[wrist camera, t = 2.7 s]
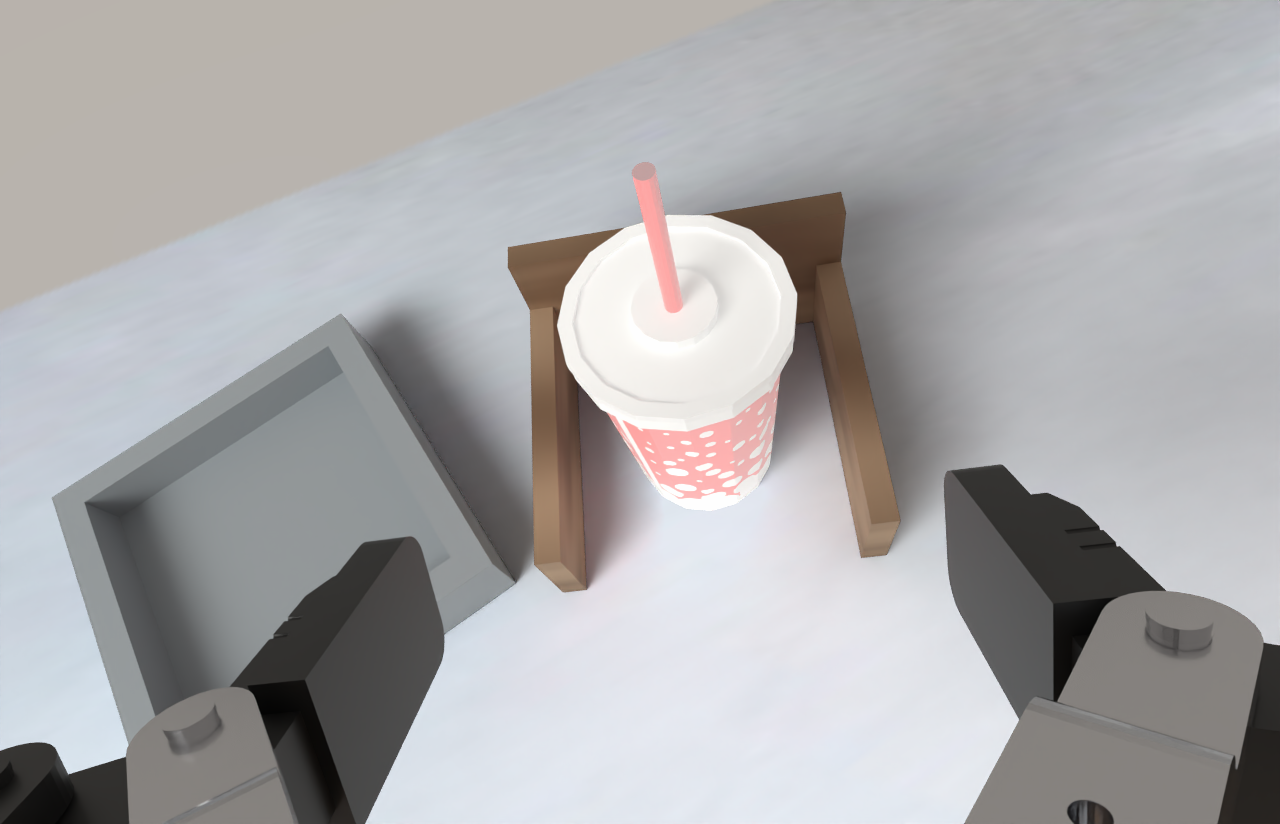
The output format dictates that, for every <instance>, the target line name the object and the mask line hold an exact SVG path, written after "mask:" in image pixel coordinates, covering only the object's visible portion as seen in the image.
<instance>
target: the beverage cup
mask: <svg viewBox="0 0 1280 824" xmlns="http://www.w3.org/2000/svg"><path fill="white" fill-rule="evenodd" d="M632 175H633V179H634V184H635V188H636V192H637V196H638V200H639V204H640V208H641V212H642V216H643V220H644V222H642V223H639V224H636V225H633V226H630V227H626V228H624V229H623V230H621V231H620V232H618V233H617V234H615V235H614V236H613V237H611V238H610V239H608V240H607V241H606V242H604V243H603V244H601V245H600V246H598V247H597V248H596V249H594V250H593V251H591V252H590V253H589V254H588V255H587V257H586V258H585V260H584V261H583V263H582V264H581V265H580V267H579V268H578V270H577V271H576V273H575V274H574V275H573V277H572V278H571V280H570V281H569V283H568V284H567V285H566V287H565V291H564V296H563V301H562V305H561V310H560V314H559V319H558V324H557V328H558V332H559V336H560V340H561V344H562V348H563V353H564V357H565V361H566V365H567V367H568V369H569V370H570V371H571V372H572V374H573V375H574V378H575V379H576V381H577V382H578V383H579V384H580V385H581V387H582V388H583V389H584V390H585V391H586V392H587V394H588V395H589V396H590V397H591V398H592V400H593V401H594V402H595V403H596V404H597V406H598V407H599V408H600V409H601V410H603V411H605V412H607V414H608V415H609V417H610V418H611V420H612V422H613V423H614V425H615V426H616V428H617V430H618V431H619V433H620V434H621V436H622V438H623V439H624V441H625V443H626V444H627V446H628V447H629V449H630V451H631V452H632V454H633V455H634V457H635V459H636V460H637V462H638V463H639V465H640V467H641V468H642V470H643V471H644V473H645V475H646V476H647V478H648V479H649V480H650V482H651V483H652V484H653V485H654V486H655V488H656V489H657V490H658V491H659V492H660V494H661V495H662V496H663V497H664V498H666V499H668V500H670V501H672V502H674V503H676V504H678V505H680V506H682V507H684V508H686V509H698V510H709V511H713V510H716V509H719V508H723V507H726V506H730V505H733V504H736V503H738V502H739V501H741V500H742V499H743V498H745V497H746V496H747V495H748V494H750V493H751V492H752V491H753V490H755V489H756V488H757V487H758V486H759V484H760V482H761V480H762V479H763V477H764V475H765V473H766V471H767V469H768V468H769V466H770V459H771V451H772V442H773V433H774V425H775V416H776V407H777V399H778V390H779V381H780V373H781V371H782V369H783V367H784V366H785V364H786V362H787V360H788V359H789V357H790V355H791V353H792V352H793V342H794V334H795V321H796V308H797V292H796V290H795V288H794V285H793V283H792V280H791V278H790V276H789V273H788V271H787V268H786V266H785V264H784V261H783V259H782V257H781V256H780V255H779V254H778V253H777V252H776V251H774V250H773V249H772V248H771V247H770V246H769V245H768V244H767V243H765V242H764V241H763V240H762V239H761V238H760V237H759V236H758V235H757V234H755V233H754V232H753V231H752V230H750V229H748V228H745V227H742V226H739V225H736V224H734V223H731V222H728V221H725V220H723V219H720V218H717V217H714V216H711V215H665V213H664V208H663V203H662V198H661V193H660V189H659V184H658V179H657V174H656V169H655V166H654V165H653V164H651V163H648V162H643V163H639V164H638V165H636V166H635V167H634V168H633V170H632Z"/></svg>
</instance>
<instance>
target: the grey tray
mask: <svg viewBox="0 0 1280 824" xmlns="http://www.w3.org/2000/svg"><path fill="white" fill-rule="evenodd" d="M52 500H53V503H54V506H55V509H56V513H57V516H58V519H59V522H60V525H61V529H62V532H63V535H64V538H65V541H66V545H67V548H68V551H69V554H70V558H71V561H72V564H73V567H74V570H75V574H76V577H77V580H78V583H79V586H80V590H81V593H82V596H83V599H84V603H85V606H86V609H87V612H88V615H89V619H90V622H91V625H92V628H93V631H94V635H95V638H96V641H97V644H98V648H99V651H100V654H101V657H102V660H103V664H104V667H105V670H106V673H107V676H108V680H109V683H110V686H111V689H112V693H113V696H114V699H115V702H116V705H117V709H118V712H119V715H120V718H121V721H122V725H123V728H124V731H125V734H126V738H127V741H128V744H130V742H131V740H132V739H133V737H134V736H135V735H136V734H137V733H138V731H139V730H140V729H141V728H142V727H143V726H145V725H146V724H147V723H148V722H149V721H150V720H152V719H153V718H154V717H155V716H157V715H158V714H160V713H161V712H163V711H164V710H166V709H167V708H169V707H171V706H173V705H174V704H176V703H178V702H180V701H182V700H185V699H187V698H189V697H191V696H194V695H196V694H199V693H202V692H206V691H209V690H213V689H218V688H225V687H230V685H231V684H232V683H233V682H234V681H235V679H236V678H237V677H238V676H239V675H240V673H241V672H242V671H243V670H244V669H245V667H246V666H247V665H248V664H249V663H250V662H251V660H252V659H253V658H254V657H255V656H256V654H257V653H258V652H259V651H260V650H261V648H262V647H263V646H264V645H265V644H266V642H267V641H268V640H269V639H273V634H274V633H275V632H276V630H277V629H278V628H279V627H280V626H281V624H282V623H283V622H284V621H288V616H289V615H290V614H291V613H292V611H293V610H294V609H295V608H296V607H297V605H298V604H299V603H300V602H301V601H302V599H303V598H304V597H305V596H306V595H308V594H309V593H310V592H312V591H313V590H315V589H316V588H317V587H319V586H320V585H322V584H323V583H324V582H326V581H327V580H329V579H330V578H332V577H333V576H336V575H337V574H338V572H339V571H340V570H341V569H342V567H343V566H344V565H345V564H346V562H347V561H348V560H349V559H350V558H351V556H352V555H353V554H354V553H355V551H356V550H357V549H358V548H359V546H360V545H361V544H362V543H364V542H368V541H376V540H384V539H392V538H400V537H408V536H412V537H414V538H415V539H416V540H417V541H418V543H419V544H420V546H421V549H422V552H423V555H424V559H425V562H426V566H427V569H428V573H429V576H430V580H431V583H432V587H433V591H434V594H435V598H436V601H437V605H438V608H439V612H440V615H441V619H442V623H443V629H444V634H445V633H447V632H448V631H449V630H451V629H452V628H454V627H455V626H456V625H458V624H459V623H461V622H462V621H463V620H465V619H466V618H468V617H469V616H470V615H472V614H473V613H475V612H476V611H478V610H479V609H480V608H482V607H483V606H485V605H486V604H487V603H489V602H490V601H492V600H493V599H494V598H496V597H497V596H499V595H500V594H501V593H503V592H504V591H506V590H507V589H509V588H510V587H511V586H513V585H514V584H516V582H515V581H514V579H513V578H512V576H511V574H510V573H509V571H508V569H507V568H506V566H505V564H504V563H503V561H502V560H501V558H500V556H499V555H498V553H497V551H496V550H495V548H494V547H493V545H492V543H491V542H490V540H489V538H488V537H487V535H486V533H485V532H484V530H483V529H482V527H481V525H480V524H479V522H478V520H477V519H476V517H475V516H474V514H473V512H472V511H471V509H470V507H469V506H468V504H467V502H466V501H465V499H464V498H463V496H462V494H461V493H460V491H459V489H458V488H457V486H456V485H455V483H454V481H453V480H452V478H451V476H450V475H449V473H448V471H447V470H446V468H445V467H444V465H443V463H442V462H441V460H440V458H439V457H438V455H437V454H436V452H435V450H434V449H433V447H432V445H431V444H430V442H429V440H428V439H427V437H426V436H425V434H424V432H423V431H422V429H421V427H420V426H419V424H418V422H417V421H416V419H415V418H414V416H413V414H412V413H411V411H410V409H409V408H408V406H407V405H406V403H405V401H404V400H403V398H402V396H401V395H400V393H399V391H398V390H397V388H396V387H395V385H394V383H393V382H392V380H391V378H390V377H389V375H388V374H387V372H386V370H385V369H384V367H383V365H382V364H381V362H380V360H379V359H378V357H377V356H376V354H375V352H374V351H373V349H372V347H371V346H370V345H369V344H368V343H367V342H366V341H365V340H364V338H363V337H362V336H361V335H360V334H359V333H358V332H357V331H356V330H355V329H354V327H353V326H352V325H351V324H350V323H349V322H348V321H347V320H346V319H345V317H344V316H343V315H342V314H339V315H338V316H336V317H335V318H333V319H331V320H330V321H328V322H327V323H325V324H324V325H322V326H320V327H319V328H317V329H316V330H314V331H313V332H311V333H309V334H308V335H306V336H305V337H303V338H302V339H300V340H298V341H297V342H295V343H294V344H292V345H291V346H289V347H287V348H286V349H284V350H283V351H281V352H280V353H278V354H276V355H275V356H273V357H272V358H270V359H269V360H267V361H266V362H264V363H262V364H261V365H259V366H258V367H256V368H255V369H253V370H251V371H250V372H248V373H247V374H245V375H244V376H242V377H240V378H239V379H237V380H236V381H234V382H233V383H231V384H229V385H228V386H226V387H225V388H223V389H222V390H220V391H218V392H217V393H215V394H214V395H212V396H211V397H209V398H207V399H206V400H204V401H203V402H201V403H200V404H198V405H196V406H195V407H193V408H192V409H190V410H189V411H187V412H185V413H184V414H182V415H181V416H179V417H178V418H176V419H174V420H173V421H171V422H170V423H168V424H167V425H165V426H163V427H162V428H160V429H159V430H157V431H156V432H154V433H152V434H151V435H149V436H148V437H146V438H145V439H143V440H141V441H140V442H138V443H137V444H135V445H134V446H132V447H130V448H129V449H127V450H126V451H124V452H123V453H121V454H119V455H118V456H116V457H115V458H113V459H112V460H110V461H108V462H107V463H105V464H104V465H102V466H101V467H99V468H97V469H96V470H94V471H93V472H91V473H90V474H88V475H86V476H85V477H83V478H82V479H80V480H79V481H77V482H76V483H74V484H72V485H71V486H69V487H68V488H66V489H65V490H63V491H61V492H60V493H58V494H57V495H55V496H54V497H52Z"/></svg>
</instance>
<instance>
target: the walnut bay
mask: <svg viewBox="0 0 1280 824" xmlns="http://www.w3.org/2000/svg"><path fill="white" fill-rule="evenodd" d="M706 215H711V216H714V217H717V218H720V219H723V220H725V221H728V222H731V223H734V224H736V225H739V226H742V227H745V228H748V229H750V230H752V231H753V232H754V233H755V234H757V235H758V236H759V237H760V238H761V239H762V240H763V241H764V242H765V243H767V244H768V245H769V246H770V247H771V248H772V249H773V250H774V251H776V252H777V253H778V254H779V255H780V256H781V257H782V259H783V261H784V264H785V266H786V268H787V271H788V273H789V276H790V278H791V280H792V283H793V285H794V288H795V290H796V292H797V308H796V321H795V324H800V323H807V322H813V323H814V328H815V333H816V338H817V343H818V348H819V353H820V358H821V363H822V368H823V372H824V377H825V382H826V387H827V392H828V397H829V402H830V407H831V412H832V417H833V422H834V427H835V432H836V437H837V441H838V446H839V451H840V456H841V461H842V466H843V471H844V476H845V481H846V486H847V491H848V496H849V501H850V505H851V510H852V515H853V520H854V525H855V530H856V535H857V540H858V545H859V550H860V555H861V558H864V557H873V556H882V555H887V553H888V550H889V548H890V545H891V543H892V540H893V538H894V536H895V533H896V531H897V528H898V526H899V523H900V516H899V512H898V508H897V503H896V499H895V495H894V490H893V486H892V482H891V477H890V473H889V468H888V464H887V460H886V455H885V451H884V447H883V442H882V438H881V434H880V429H879V425H878V421H877V416H876V412H875V408H874V403H873V399H872V395H871V390H870V386H869V382H868V377H867V373H866V369H865V364H864V360H863V356H862V351H861V347H860V343H859V338H858V334H857V330H856V325H855V321H854V317H853V312H852V308H851V304H850V299H849V295H848V291H847V286H846V282H845V278H844V273H843V269H842V265H841V255H842V245H843V236H844V226H845V216H846V211H845V206H844V202H843V198H842V194H841V192H838V193H832V194H826V195H820V196H814V197H808V198H802V199H796V200H790V201H784V202H778V203H772V204H766V205H760V206H754V207H748V208H742V209H736V210H730V211H724V212H718V213H712V214H706ZM623 229H624V228H621V229H615V230H609V231H603V232H597V233H591V234H585V235H579V236H573V237H567V238H561V239H555V240H549V241H543V242H537V243H531V244H525V245H519V246H513V247H508V268H509V270H510V272H511V274H512V276H513V278H514V280H515V282H516V284H517V286H518V288H519V290H520V292H521V294H522V296H523V297H524V299H525V301H526V303H527V305H528V307H529V309H530V334H531V396H532V458H533V519H534V565H535V566H536V567H537V568H538V569H539V570H540V571H541V572H542V573H543V574H544V575H545V576H547V577H548V578H549V579H550V580H551V581H552V582H553V583H554V584H555V585H556V586H557V587H558V588H559V589H560V590H561V591H562V592H571V591H580V590H587V586H586V564H585V542H584V520H583V498H582V476H581V454H580V432H579V410H578V388H577V381H576V379H575V378H574V375H573V374H572V372H571V371H570V370H569V369H568V367H567V365H566V361H565V357H564V353H563V348H562V344H561V340H560V336H559V332H558V328H557V324H558V319H559V314H560V310H561V305H562V301H563V296H564V291H565V287H566V285H567V284H568V283H569V281H570V280H571V278H572V277H573V275H574V274H575V273H576V271H577V270H578V268H579V267H580V265H581V264H582V263H583V261H584V260H585V258H586V257H587V255H588V254H589V253H590V252H591V251H593V250H594V249H596V248H597V247H598V246H600V245H601V244H603V243H604V242H606V241H607V240H608V239H610V238H611V237H613V236H614V235H615V234H617V233H618V232H620V231H621V230H623Z"/></svg>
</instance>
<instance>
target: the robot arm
mask: <svg viewBox="0 0 1280 824" xmlns="http://www.w3.org/2000/svg"><path fill="white" fill-rule="evenodd" d="M944 498H945V519H946V539H947V559H948V573H949V580H950V585H951V589H952V593H953V597H954V600H955V603H956V606H957V608H958V610H959V612H960V614H961V616H962V618H963V619H964V621H965V623H966V625H967V627H968V628H969V630H970V632H971V634H972V636H973V637H974V639H975V641H976V643H977V645H978V646H979V648H980V650H981V652H982V654H983V655H984V657H985V659H986V661H987V662H988V664H989V666H990V668H991V670H992V671H993V673H994V675H995V677H996V679H997V680H998V682H999V684H1000V686H1001V688H1002V689H1003V691H1004V693H1005V695H1006V697H1007V698H1008V700H1009V702H1010V704H1011V705H1012V707H1013V709H1014V711H1015V713H1016V714H1017V716H1018V718H1019V722H1018V724H1017V726H1016V728H1015V729H1014V731H1013V733H1012V735H1011V737H1010V739H1009V741H1008V743H1007V744H1006V746H1005V748H1004V750H1003V752H1002V754H1001V756H1000V758H999V759H998V761H997V763H996V765H995V767H994V769H993V771H992V773H991V774H990V776H989V778H988V780H987V782H986V784H985V786H984V788H983V789H982V791H981V793H980V795H979V797H978V799H977V801H976V803H975V804H974V806H973V808H972V810H971V812H970V814H969V816H968V818H967V819H966V821H965V823H964V824H1280V645H1273V644H1267V643H1263V638H1262V635H1261V632H1260V631H1259V630H1258V628H1257V627H1256V626H1255V625H1254V624H1253V623H1252V622H1251V621H1250V620H1249V619H1248V618H1246V617H1245V616H1244V615H1242V614H1241V613H1239V612H1237V611H1236V610H1234V609H1232V608H1230V607H1228V606H1226V605H1223V604H1221V603H1218V602H1216V601H1213V600H1210V599H1207V598H1204V597H1200V596H1195V595H1191V594H1186V593H1179V592H1170V591H1166V590H1165V589H1164V588H1163V587H1162V586H1161V585H1160V584H1159V583H1157V582H1156V581H1155V580H1154V579H1153V578H1152V577H1151V576H1150V575H1149V574H1148V573H1147V572H1146V571H1145V570H1144V569H1143V568H1142V567H1141V566H1140V565H1139V564H1138V563H1137V562H1136V561H1135V560H1134V559H1133V558H1132V557H1131V556H1130V555H1128V554H1127V553H1126V552H1125V551H1124V550H1123V549H1122V548H1121V547H1120V546H1118V547H1117V546H1116V542H1115V541H1114V540H1113V539H1112V538H1111V537H1110V536H1109V535H1108V534H1107V533H1106V532H1105V531H1104V530H1100V529H1099V526H1098V525H1097V524H1096V523H1095V522H1094V521H1093V520H1092V519H1091V518H1090V517H1089V516H1088V515H1087V514H1086V513H1085V512H1084V511H1083V510H1082V509H1081V508H1080V507H1078V506H1076V505H1073V504H1071V503H1069V502H1067V501H1064V500H1062V499H1060V498H1058V497H1056V496H1053V495H1051V494H1049V493H1040V494H1032V495H1031V494H1030V493H1029V492H1028V491H1027V490H1026V489H1025V488H1024V487H1023V486H1022V485H1021V484H1020V483H1019V482H1018V480H1017V479H1016V478H1015V477H1014V476H1013V475H1012V474H1011V473H1010V472H1009V471H1008V470H1007V469H1006V468H1005V467H1004V466H1003V465H1001V464H1000V465H992V466H984V467H976V468H968V469H960V470H952V471H947V473H946V475H945V480H944ZM443 653H444V629H443V623H442V619H441V615H440V612H439V608H438V605H437V601H436V598H435V594H434V591H433V587H432V583H431V580H430V576H429V573H428V569H427V566H426V562H425V559H424V555H423V552H422V549H421V546H420V544H419V543H418V541H417V540H416V539H415V538H414V537H412V536H408V537H400V538H392V539H384V540H376V541H368V542H364V543H362V544H361V545H360V546H359V548H358V549H357V550H356V551H355V553H354V554H353V555H352V556H351V558H350V559H349V560H348V561H347V562H346V564H345V565H344V566H343V567H342V569H341V570H340V571H339V572H338V574H337V575H336V576H333V577H332V578H330V579H329V580H327V581H326V582H324V583H323V584H322V585H320V586H319V587H317V588H316V589H315V590H313V591H312V592H310V593H309V594H308V595H306V596H305V597H304V598H303V599H302V601H301V602H300V603H299V604H298V605H297V607H296V608H295V609H294V610H293V611H292V613H291V614H290V615H289V616H288V621H284V622H283V623H282V624H281V626H280V627H279V628H278V629H277V630H276V632H275V633H274V634H273V639H269V640H268V641H267V642H266V644H265V645H264V646H263V647H262V648H261V650H260V651H259V652H258V653H257V654H256V656H255V657H254V658H253V659H252V660H251V662H250V663H249V664H248V665H247V666H246V667H245V669H244V670H243V671H242V672H241V673H240V675H239V676H238V677H237V678H236V679H235V681H234V682H233V683H232V684H231V685H230V687H225V688H218V689H213V690H209V691H206V692H202V693H199V694H196V695H194V696H191V697H189V698H187V699H185V700H182V701H180V702H178V703H176V704H174V705H173V706H171V707H169V708H167V709H166V710H164V711H163V712H161V713H160V714H158V715H157V716H155V717H154V718H153V719H152V720H150V721H149V722H148V723H147V724H146V725H145V726H143V727H142V728H141V729H140V730H139V731H138V733H137V734H136V735H135V736H134V737H133V739H132V740H131V742H130V744H129V746H128V748H127V753H126V757H124V758H121V759H117V760H114V761H111V762H108V763H104V764H101V765H98V766H95V767H91V768H88V769H85V770H81V771H78V772H75V773H72V774H68V773H67V771H66V769H65V767H64V765H63V763H62V761H61V759H60V757H59V755H58V753H57V751H56V749H55V747H53V746H52V745H50V744H47V743H39V742H37V743H27V744H22V745H18V746H14V747H11V748H7V749H4V750H2V751H0V824H365V822H366V820H367V818H368V816H369V814H370V812H371V810H372V808H373V806H374V803H375V801H376V799H377V797H378V795H379V793H380V791H381V789H382V787H383V784H384V782H385V780H386V778H387V776H388V774H389V772H390V770H391V768H392V766H393V763H394V761H395V759H396V757H397V755H398V753H399V751H400V749H401V747H402V744H403V742H404V740H405V738H406V736H407V734H408V732H409V730H410V728H411V725H412V723H413V721H414V719H415V717H416V715H417V713H418V711H419V709H420V706H421V704H422V702H423V700H424V698H425V696H426V694H427V692H428V690H429V688H430V685H431V683H432V681H433V679H434V677H435V675H436V673H437V671H438V669H439V666H440V664H441V662H442V658H443Z"/></svg>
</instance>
